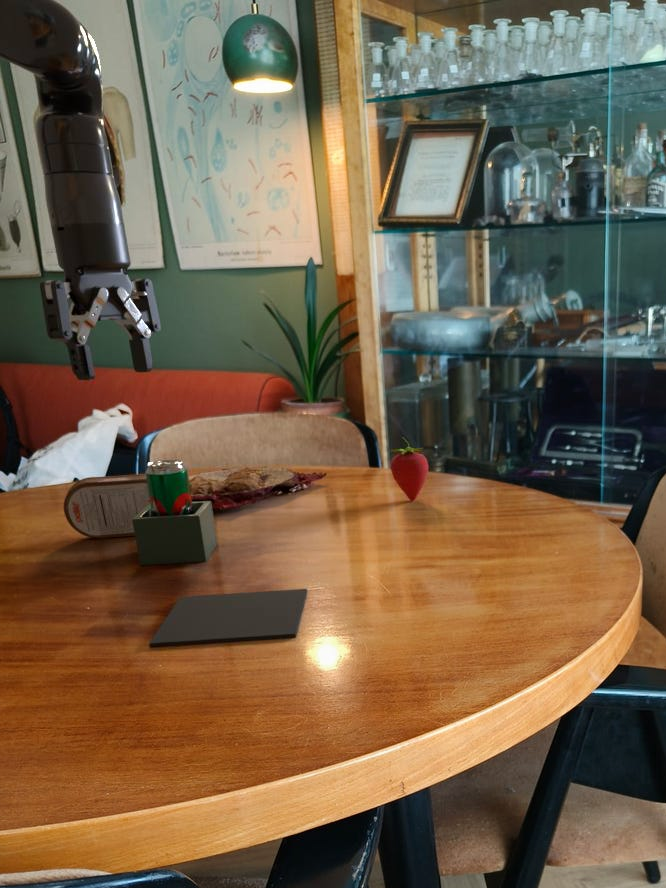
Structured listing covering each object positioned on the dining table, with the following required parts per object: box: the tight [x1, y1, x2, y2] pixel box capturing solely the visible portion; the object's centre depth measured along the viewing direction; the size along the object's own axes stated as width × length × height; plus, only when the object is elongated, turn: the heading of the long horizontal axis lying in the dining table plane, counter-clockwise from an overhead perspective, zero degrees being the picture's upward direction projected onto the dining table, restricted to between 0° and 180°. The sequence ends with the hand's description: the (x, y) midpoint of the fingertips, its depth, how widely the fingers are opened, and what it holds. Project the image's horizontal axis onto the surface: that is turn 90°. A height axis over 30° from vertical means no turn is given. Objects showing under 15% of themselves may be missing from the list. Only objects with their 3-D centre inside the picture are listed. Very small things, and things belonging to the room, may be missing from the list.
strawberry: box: [389, 436, 429, 502], centre depth 138 cm, size 6×8×10 cm
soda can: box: [144, 459, 194, 517], centre depth 113 cm, size 5×5×12 cm
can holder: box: [132, 500, 218, 566], centre depth 114 cm, size 8×8×6 cm
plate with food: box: [188, 466, 327, 512], centre depth 149 cm, size 24×26×4 cm
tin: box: [63, 473, 151, 539], centre depth 124 cm, size 15×3×8 cm, turn 102°
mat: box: [148, 588, 308, 648], centre depth 92 cm, size 14×14×1 cm
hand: (115, 375), depth 103 cm, fingers open, 8 cm apart
